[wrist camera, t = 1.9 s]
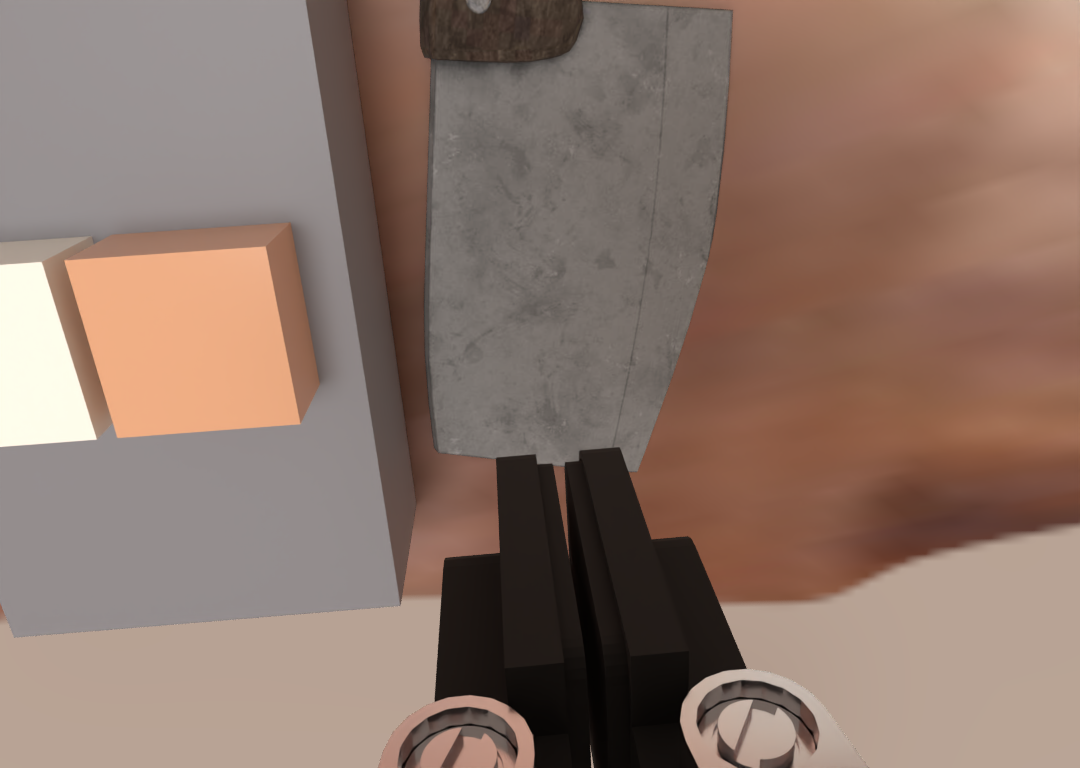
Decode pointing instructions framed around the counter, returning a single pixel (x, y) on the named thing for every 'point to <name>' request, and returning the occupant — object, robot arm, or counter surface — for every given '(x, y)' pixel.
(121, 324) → the terracotta tile
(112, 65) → the block
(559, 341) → the cleaver
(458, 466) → the counter surface
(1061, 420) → the counter surface
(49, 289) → the cream tile
